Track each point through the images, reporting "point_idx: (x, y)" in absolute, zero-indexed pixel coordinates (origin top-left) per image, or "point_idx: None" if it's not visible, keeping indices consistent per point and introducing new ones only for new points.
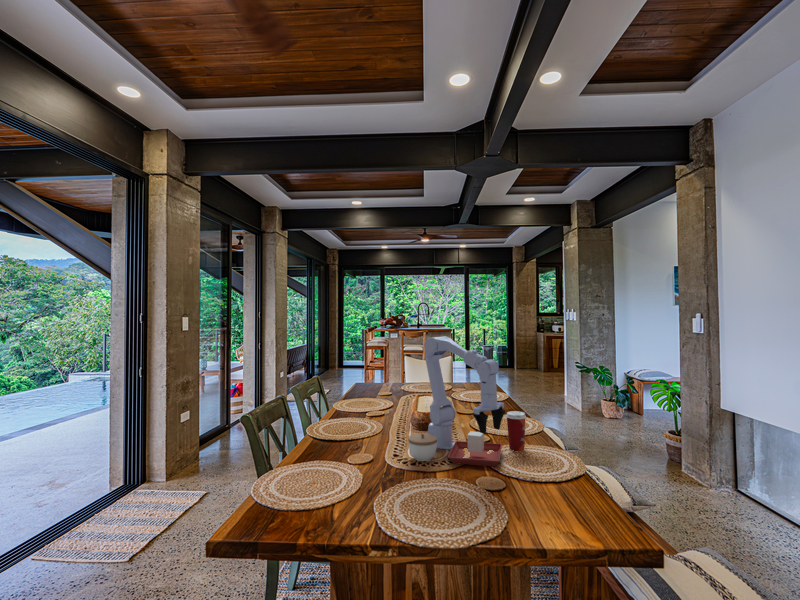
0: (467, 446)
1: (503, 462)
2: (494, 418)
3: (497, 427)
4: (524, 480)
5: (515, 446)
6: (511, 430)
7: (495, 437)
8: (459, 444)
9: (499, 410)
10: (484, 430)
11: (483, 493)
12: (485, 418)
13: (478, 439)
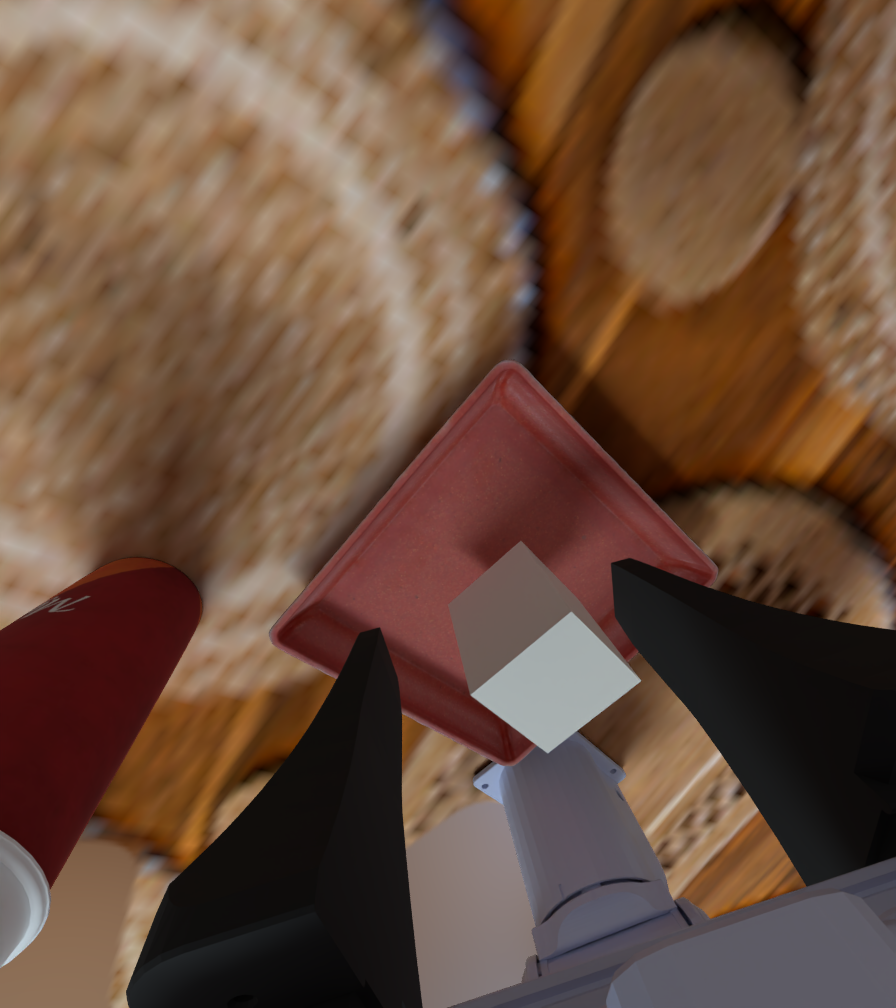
0: (462, 711)
1: (392, 439)
2: (393, 799)
3: (384, 653)
4: (474, 50)
5: (165, 589)
6: (115, 702)
7: (175, 809)
8: (496, 739)
9: (345, 953)
10: (661, 571)
11: (862, 42)
12: (876, 646)
13: (571, 607)
